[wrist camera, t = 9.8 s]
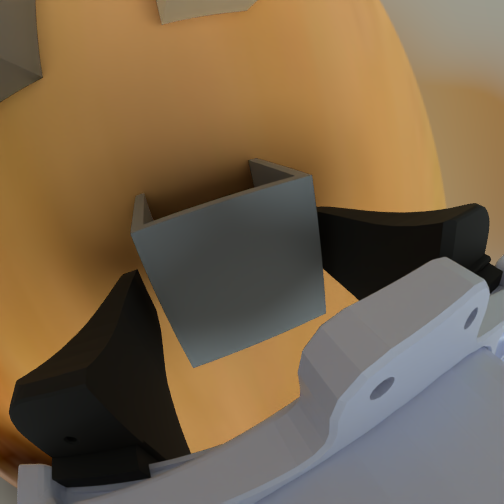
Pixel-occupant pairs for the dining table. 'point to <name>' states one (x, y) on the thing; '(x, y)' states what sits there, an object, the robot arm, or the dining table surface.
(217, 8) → the cube
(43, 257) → the dining table surface
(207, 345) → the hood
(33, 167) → the dining table surface
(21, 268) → the dining table surface
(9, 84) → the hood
